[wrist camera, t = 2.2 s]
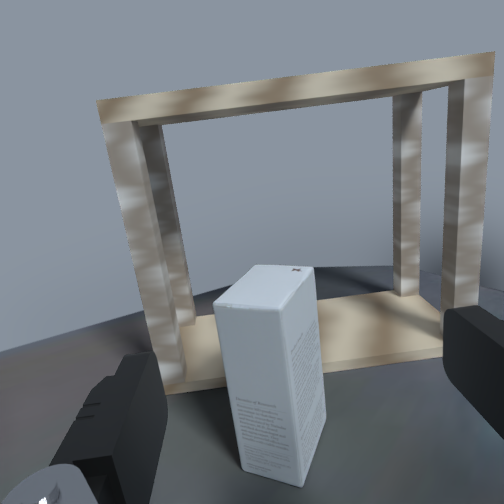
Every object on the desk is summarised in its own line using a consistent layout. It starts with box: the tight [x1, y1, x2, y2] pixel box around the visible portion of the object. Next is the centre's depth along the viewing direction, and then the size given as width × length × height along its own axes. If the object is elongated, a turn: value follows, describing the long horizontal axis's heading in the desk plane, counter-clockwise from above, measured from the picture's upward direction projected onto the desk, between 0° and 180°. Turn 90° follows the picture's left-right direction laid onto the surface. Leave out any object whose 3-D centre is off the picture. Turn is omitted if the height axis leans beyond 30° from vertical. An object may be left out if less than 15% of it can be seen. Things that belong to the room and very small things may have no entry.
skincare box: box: [213, 265, 326, 487], centre depth 24 cm, size 6×4×12 cm
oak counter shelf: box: [96, 51, 495, 395], centre depth 34 cm, size 27×12×24 cm, turn 93°
